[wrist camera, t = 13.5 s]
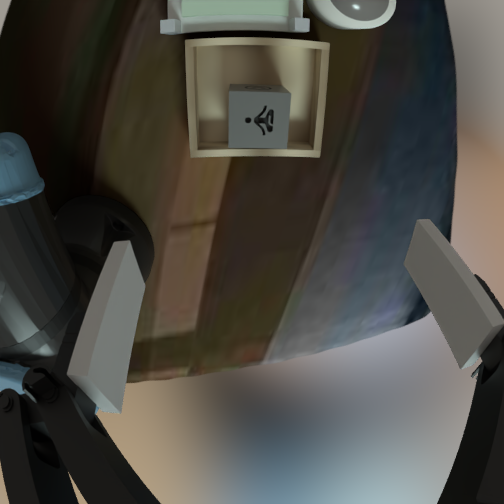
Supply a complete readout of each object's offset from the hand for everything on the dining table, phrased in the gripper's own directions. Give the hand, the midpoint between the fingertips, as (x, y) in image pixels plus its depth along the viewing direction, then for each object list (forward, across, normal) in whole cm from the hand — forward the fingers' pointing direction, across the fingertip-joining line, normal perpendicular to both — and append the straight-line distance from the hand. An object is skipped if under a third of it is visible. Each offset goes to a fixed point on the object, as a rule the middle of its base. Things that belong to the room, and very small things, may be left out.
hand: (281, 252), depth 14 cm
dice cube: (+20, +1, +2) cm, 20 cm away
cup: (+20, +9, +14) cm, 26 cm away
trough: (+20, +1, +4) cm, 21 cm away
